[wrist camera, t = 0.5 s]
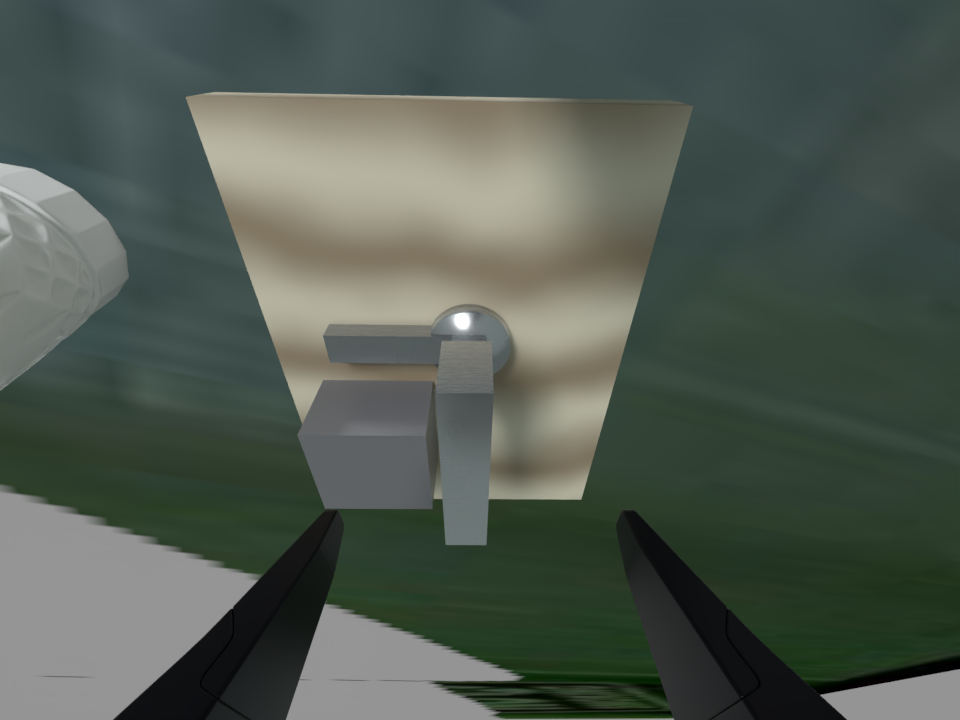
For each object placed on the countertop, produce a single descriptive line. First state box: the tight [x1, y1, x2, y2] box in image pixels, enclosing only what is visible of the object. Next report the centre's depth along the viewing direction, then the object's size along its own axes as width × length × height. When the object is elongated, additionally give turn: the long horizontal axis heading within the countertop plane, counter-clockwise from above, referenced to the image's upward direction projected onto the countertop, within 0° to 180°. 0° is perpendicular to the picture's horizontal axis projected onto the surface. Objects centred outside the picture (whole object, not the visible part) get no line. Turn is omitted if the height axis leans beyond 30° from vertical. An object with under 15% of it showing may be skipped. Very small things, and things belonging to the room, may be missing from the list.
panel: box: [186, 92, 693, 500], centre depth 22 cm, size 24×18×2 cm
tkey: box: [323, 304, 511, 545], centre depth 17 cm, size 8×9×8 cm
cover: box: [297, 380, 438, 509], centre depth 22 cm, size 6×6×4 cm
